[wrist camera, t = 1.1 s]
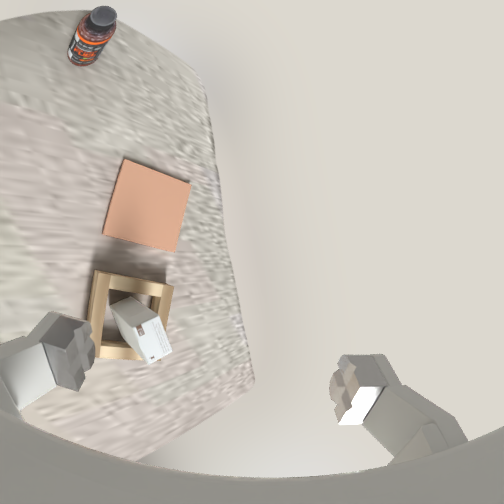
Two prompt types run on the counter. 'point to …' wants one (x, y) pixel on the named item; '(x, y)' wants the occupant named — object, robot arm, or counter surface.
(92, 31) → the supplement bottle
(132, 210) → the terracotta tile
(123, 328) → the skincare box
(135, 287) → the light wooden square frame
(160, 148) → the counter surface
